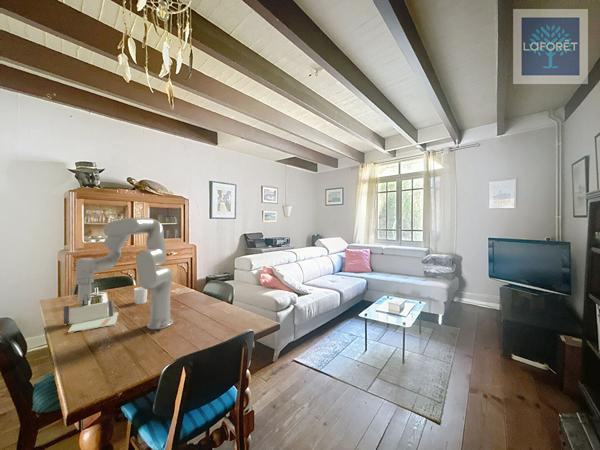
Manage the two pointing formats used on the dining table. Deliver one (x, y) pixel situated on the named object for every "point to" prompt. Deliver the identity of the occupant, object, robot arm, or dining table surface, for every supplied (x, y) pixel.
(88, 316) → the white flat panel
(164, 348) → the dining table surface
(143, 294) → the white cup
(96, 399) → the dining table surface
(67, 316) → the frame
